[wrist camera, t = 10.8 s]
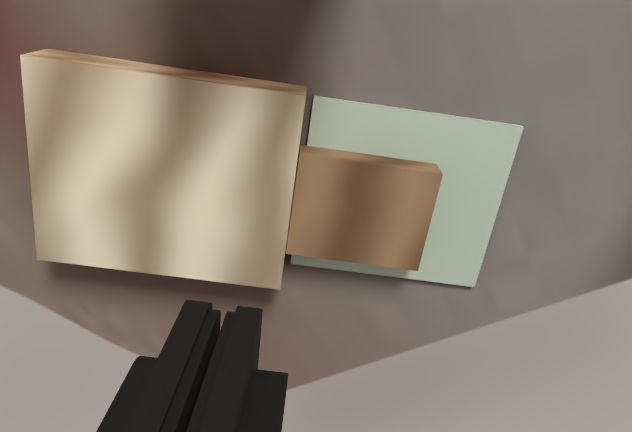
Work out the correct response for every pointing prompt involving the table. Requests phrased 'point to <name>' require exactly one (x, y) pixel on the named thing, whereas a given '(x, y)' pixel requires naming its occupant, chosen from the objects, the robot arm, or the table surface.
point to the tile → (362, 207)
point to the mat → (456, 185)
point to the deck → (160, 167)
